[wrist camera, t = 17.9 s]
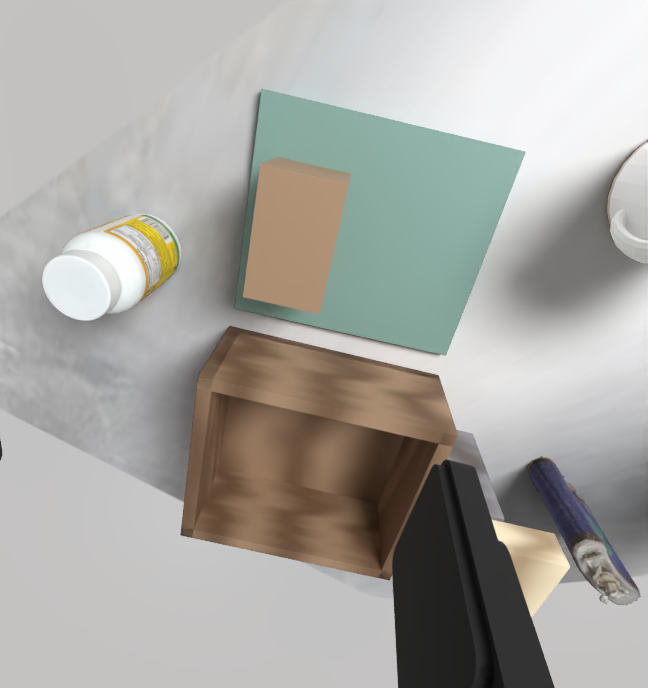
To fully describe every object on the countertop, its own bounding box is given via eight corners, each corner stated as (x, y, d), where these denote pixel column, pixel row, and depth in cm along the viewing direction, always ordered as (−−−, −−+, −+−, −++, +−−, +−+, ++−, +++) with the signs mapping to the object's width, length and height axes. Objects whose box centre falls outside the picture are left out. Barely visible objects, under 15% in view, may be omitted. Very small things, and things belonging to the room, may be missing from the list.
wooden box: (494, 388, 37) (536, 467, 28) (431, 516, 44) (449, 610, 35) (229, 326, 36) (190, 387, 27) (210, 467, 43) (173, 551, 34)
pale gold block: (554, 533, 30) (570, 567, 28) (517, 585, 33) (530, 620, 31) (486, 518, 30) (496, 551, 28) (455, 571, 33) (462, 605, 30)
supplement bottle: (178, 213, 32) (113, 245, 23) (187, 282, 34) (130, 334, 26) (108, 210, 32) (17, 240, 24) (121, 279, 35) (43, 329, 26)
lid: (519, 150, 29) (565, 157, 22) (443, 348, 36) (461, 397, 29) (265, 89, 28) (237, 79, 22) (238, 302, 35) (211, 341, 29)
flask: (592, 511, 42) (661, 624, 33) (564, 523, 43) (622, 636, 34) (548, 451, 39) (608, 555, 30) (518, 465, 40) (567, 571, 31)
